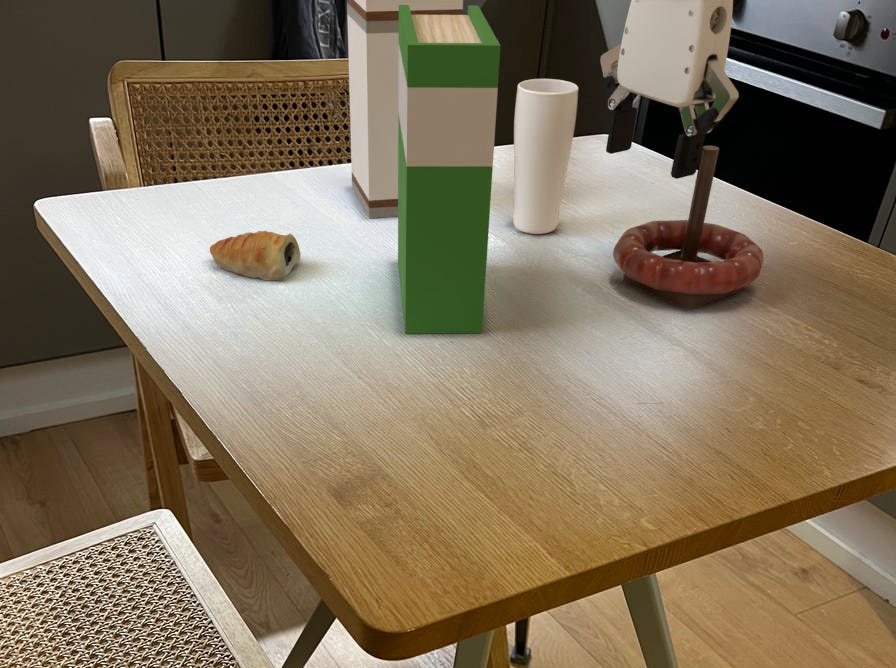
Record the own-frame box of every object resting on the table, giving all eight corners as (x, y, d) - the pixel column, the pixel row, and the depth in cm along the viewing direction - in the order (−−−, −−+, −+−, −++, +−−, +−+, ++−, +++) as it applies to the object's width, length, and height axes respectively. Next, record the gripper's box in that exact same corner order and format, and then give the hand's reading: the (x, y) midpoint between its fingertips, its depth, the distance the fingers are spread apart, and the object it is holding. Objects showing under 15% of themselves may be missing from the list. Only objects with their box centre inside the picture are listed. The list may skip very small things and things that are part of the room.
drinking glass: (554, 216, 118) (569, 77, 108) (570, 236, 113) (587, 92, 103) (500, 219, 117) (510, 79, 107) (514, 239, 112) (525, 94, 102)
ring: (787, 275, 101) (795, 246, 99) (695, 311, 94) (702, 281, 92) (675, 234, 110) (680, 207, 108) (583, 264, 102) (587, 235, 100)
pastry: (201, 273, 103) (196, 236, 101) (227, 251, 108) (223, 216, 105) (283, 283, 101) (280, 246, 99) (306, 261, 106) (304, 225, 104)
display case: (454, 212, 118) (469, -157, 95) (369, 218, 116) (363, -158, 93) (432, 183, 127) (440, -164, 103) (352, 188, 125) (342, -164, 101)
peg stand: (744, 289, 102) (778, 151, 93) (687, 310, 98) (717, 167, 89) (678, 263, 107) (704, 129, 98) (622, 281, 103) (644, 144, 94)
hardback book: (397, 264, 106) (398, 4, 90) (465, 263, 106) (478, 5, 90) (405, 333, 93) (407, 44, 77) (482, 333, 93) (500, 45, 77)
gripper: (792, -27, 85) (739, 181, 97) (646, -57, 95) (614, 135, 106) (737, -21, 81) (689, 194, 93) (591, -53, 91) (565, 146, 103)
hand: (649, 162), depth 100 cm, fingers open, 8 cm apart
